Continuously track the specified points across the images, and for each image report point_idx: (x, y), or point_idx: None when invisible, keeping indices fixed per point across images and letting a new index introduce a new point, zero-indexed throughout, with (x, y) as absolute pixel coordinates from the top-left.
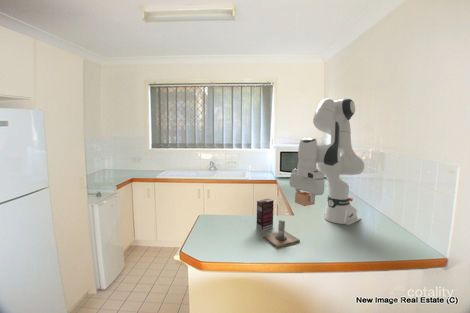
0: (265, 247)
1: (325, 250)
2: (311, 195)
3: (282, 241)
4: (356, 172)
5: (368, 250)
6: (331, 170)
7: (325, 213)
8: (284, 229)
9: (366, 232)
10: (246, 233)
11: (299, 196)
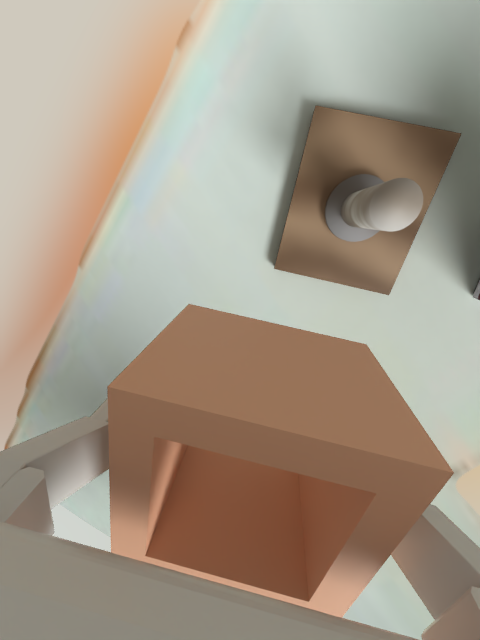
0: (369, 52)
1: (167, 286)
2: (15, 463)
3: (325, 180)
4: None
5: (98, 389)
6: None
7: None
8: (353, 218)
9: None
10: None
11: (287, 390)
